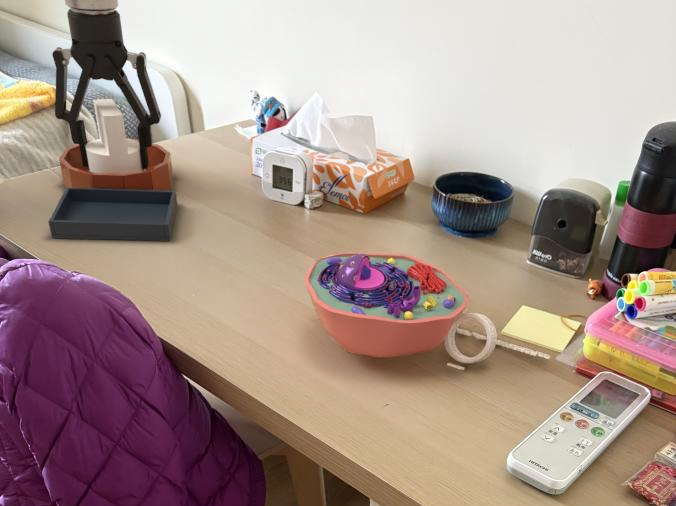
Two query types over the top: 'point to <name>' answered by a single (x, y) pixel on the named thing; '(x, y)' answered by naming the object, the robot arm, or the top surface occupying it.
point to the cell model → (384, 302)
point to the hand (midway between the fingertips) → (116, 164)
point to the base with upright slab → (112, 143)
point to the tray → (114, 214)
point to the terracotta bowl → (150, 179)
